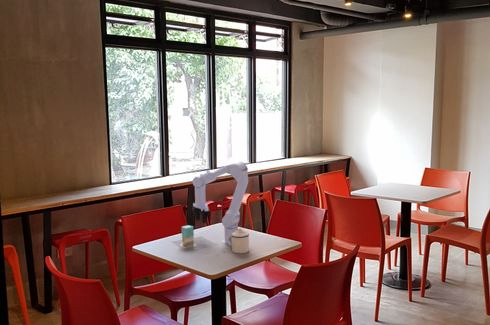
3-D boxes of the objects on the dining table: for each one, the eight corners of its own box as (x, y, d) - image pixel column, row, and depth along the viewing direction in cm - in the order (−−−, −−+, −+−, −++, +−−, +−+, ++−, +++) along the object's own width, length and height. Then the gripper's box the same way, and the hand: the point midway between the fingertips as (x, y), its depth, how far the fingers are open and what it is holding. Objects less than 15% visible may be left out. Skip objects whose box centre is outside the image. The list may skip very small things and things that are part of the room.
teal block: (193, 235, 244) (193, 226, 243) (186, 237, 241) (186, 228, 240) (188, 234, 247) (188, 225, 246) (181, 236, 244) (181, 226, 243)
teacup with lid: (253, 250, 235) (252, 228, 233) (241, 255, 228) (241, 232, 226) (235, 246, 242) (234, 224, 241) (223, 250, 235) (222, 228, 234)
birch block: (193, 245, 244) (193, 236, 243) (185, 246, 241) (185, 237, 241) (190, 243, 247) (189, 234, 247) (182, 244, 245) (182, 235, 245)
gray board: (217, 246, 244) (217, 244, 243) (186, 252, 234) (186, 250, 234) (201, 237, 261) (201, 236, 260) (171, 242, 251) (171, 241, 251)
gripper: (213, 198, 251) (213, 223, 252) (200, 194, 263) (201, 218, 264) (201, 200, 247) (202, 225, 249) (189, 196, 259) (190, 219, 261)
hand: (201, 221), depth 256 cm, fingers open, 7 cm apart
